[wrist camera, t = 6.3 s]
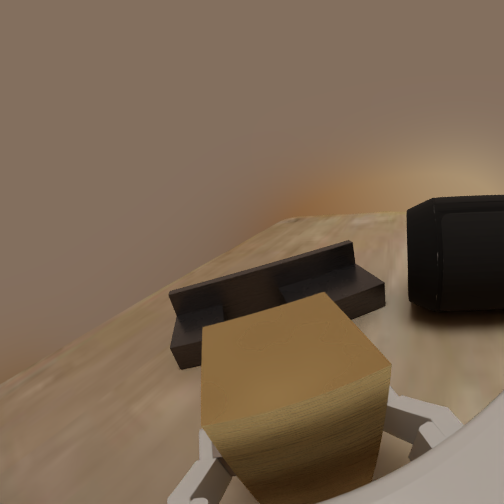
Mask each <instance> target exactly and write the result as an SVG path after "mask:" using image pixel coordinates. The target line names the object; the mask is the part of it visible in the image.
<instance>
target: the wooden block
mask: <svg viewBox="0 0 504 504" xmlns="http://www.w3.org/2000/svg"><path fill="white" fill-rule="evenodd" d="M391 366H392V364H391V363H390V362H389V361H388V360H387V359H386V358H385V356H384V355H383V354H382V353H381V352H380V351H379V350H378V349H377V348H376V347H375V346H374V344H373V343H372V342H371V341H370V340H369V339H368V338H367V337H366V336H365V335H364V334H363V333H362V331H361V330H360V329H359V328H358V327H357V326H356V325H355V324H354V323H353V322H352V321H351V320H350V319H349V318H348V316H347V315H346V314H345V313H344V312H343V311H342V310H341V309H340V308H339V307H338V306H337V305H336V304H335V303H334V302H333V301H332V300H331V298H330V297H329V296H328V295H327V294H326V293H325V292H321V293H318V294H315V295H312V296H309V297H306V298H303V299H300V300H297V301H293V302H290V303H287V304H284V305H280V306H277V307H274V308H270V309H267V310H264V311H260V312H257V313H253V314H250V315H246V316H243V317H239V318H236V319H232V320H228V321H225V322H221V323H217V324H213V325H209V326H205V327H203V329H202V363H201V426H202V428H203V430H204V431H205V433H206V434H207V436H208V437H209V438H210V440H211V441H212V443H213V444H214V446H215V447H216V449H217V450H218V451H219V453H220V454H221V456H222V457H223V458H224V460H225V461H226V462H227V464H228V465H229V466H230V468H231V469H232V470H233V472H234V473H235V474H236V475H237V477H238V478H239V479H240V480H241V482H242V483H243V484H244V485H245V487H246V488H247V489H248V490H249V491H250V493H251V494H252V495H253V496H254V497H255V498H256V500H257V501H258V502H259V503H260V504H316V503H319V502H322V501H325V500H328V499H331V498H334V497H336V496H339V495H342V494H344V493H347V492H350V491H352V490H354V489H357V488H359V487H362V486H364V485H366V484H368V483H371V481H372V477H373V473H374V469H375V465H376V461H377V457H378V453H379V448H380V443H381V438H382V433H383V428H384V422H385V416H386V409H387V402H388V395H389V386H390V377H391Z"/></svg>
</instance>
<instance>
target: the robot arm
mask: <svg viewBox="0 0 504 504" xmlns="http://www.w3.org/2000/svg"><path fill="white" fill-rule="evenodd" d="M383 431H385V432H387V433H389V434H391V435H393V436H396V437H398V438H400V439H402V440H404V441H407V442H409V443H411V444H413V446H412V449H411V451H410V454H409V456H408V458H409V459H410V461H411V462H409V463H408V464H406V465H404V466H402V467H400V468H399V469H397V470H395V471H393V472H391V473H389V474H387V475H385V476H383V477H381V478H379V479H377V480H375V481H373V482H371V483H368V484H366V485H364V486H362V487H359V488H357V489H354V490H352V491H350V492H347V493H344V494H342V495H339V496H336V497H334V498H331V499H328V500H325V501H322V502H319V503H316V504H504V390H503V391H502V392H501V393H500V394H499V395H498V396H497V397H496V398H495V399H494V400H493V401H492V402H491V403H490V404H488V405H487V406H486V407H485V408H484V409H483V410H482V411H481V412H480V413H478V414H477V415H476V416H475V417H474V418H472V419H471V420H470V421H469V422H468V423H466V424H465V425H463V424H462V423H461V422H460V420H459V419H458V418H457V417H456V416H455V415H454V414H453V413H452V412H451V411H450V409H449V408H448V407H444V406H440V405H436V404H432V403H428V402H424V401H421V400H417V399H413V398H410V397H407V396H403V395H402V396H400V397H399V396H398V395H397V393H396V392H395V391H394V390H393V388H392V387H391V386H389V395H388V402H387V409H386V416H385V422H384V428H383ZM233 476H237V475H236V474H235V473H234V472H233V470H232V469H231V468H230V466H229V465H228V464H227V462H226V461H225V460H224V458H223V457H222V456H221V454H220V453H219V451H218V450H217V449H216V447H215V446H214V444H213V443H212V441H211V440H210V438H209V437H208V436H207V434H206V433H205V431H204V430H203V429H200V431H199V461H196V462H195V463H194V464H193V466H192V467H191V468H190V470H189V471H188V473H187V474H186V475H185V477H184V478H183V479H182V481H181V482H180V483H179V484H178V486H177V487H176V488H175V490H174V491H173V492H172V494H171V495H170V496H169V497H168V500H167V504H219V502H220V500H221V498H222V497H223V495H224V493H225V491H226V489H227V487H228V485H229V483H230V481H231V479H232V477H233Z"/></svg>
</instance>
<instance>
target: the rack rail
mask: <svg viewBox="0 0 504 504" xmlns="http://www.w3.org/2000/svg"><path fill="white" fill-rule="evenodd" d="M321 292H325V293H326V294H327V295H328V296H329V297H330V298H331V300H332V301H333V302H334V303H335V304H336V305H337V306H338V307H339V308H340V309H341V310H342V311H343V312H344V313H345V314H346V315H347V316H348V318H349V319H350V320H351V319H354V318H356V317H359V316H361V315H364V314H366V313H369V312H371V311H374V310H376V309H378V308H381V307H383V306H385V283H384V282H383V281H381V280H380V279H378V278H377V277H375V276H374V275H372V274H371V273H369V272H367V271H366V270H364V269H363V268H361V267H360V266H358V265H357V264H355V258H354V250H353V242H351V241H349V240H347V241H344V242H341V243H337V244H334V245H331V246H327V247H324V248H321V249H317V250H314V251H310V252H307V253H304V254H300V255H297V256H293V257H290V258H287V259H283V260H280V261H276V262H273V263H269V264H266V265H262V266H259V267H255V268H252V269H248V270H245V271H241V272H238V273H234V274H230V275H227V276H223V277H220V278H216V279H213V280H209V281H205V282H202V283H198V284H194V285H191V286H187V287H183V288H180V289H176V290H172V291H170V292H169V298H170V300H171V303H172V305H173V308H174V310H175V313H176V315H177V317H176V322H175V327H174V331H173V336H172V341H171V346H170V349H171V351H172V353H173V355H174V357H175V359H176V361H177V363H178V365H179V367H180V369H185V368H190V367H194V366H199V365H201V363H202V329H203V327H205V326H209V325H213V324H217V323H221V322H225V321H228V320H232V319H236V318H239V317H243V316H246V315H250V314H253V313H257V312H260V311H264V310H267V309H270V308H274V307H277V306H280V305H284V304H287V303H290V302H293V301H297V300H300V299H303V298H306V297H309V296H312V295H315V294H318V293H321Z"/></svg>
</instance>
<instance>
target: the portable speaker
mask: <svg viewBox="0 0 504 504" xmlns="http://www.w3.org/2000/svg"><path fill="white" fill-rule="evenodd" d="M407 251H408V296H409V301H410V302H412V303H415V304H417V305H420V306H422V307H425V308H427V309H430V310H432V311H470V310H488V309H504V195H482V196H458V197H440V198H432V199H429V200H427V201H425V202H423V203H421V204H419V205H417V206H414V207H412V208H410V209H408V210H407Z"/></svg>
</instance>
